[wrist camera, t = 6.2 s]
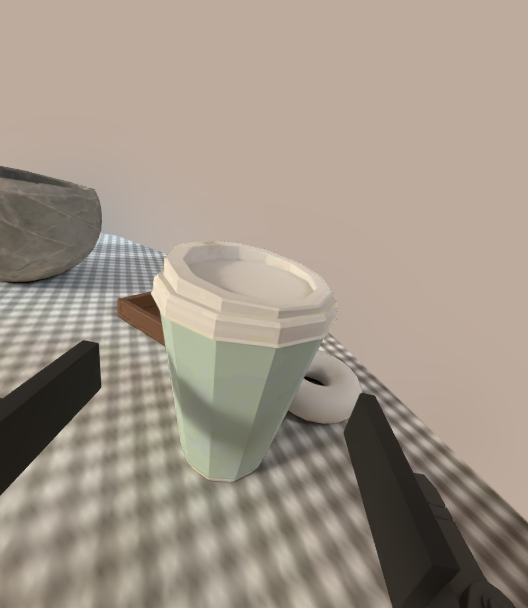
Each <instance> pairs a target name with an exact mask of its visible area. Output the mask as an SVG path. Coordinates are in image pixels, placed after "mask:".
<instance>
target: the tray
mask: <svg viewBox="0 0 528 608" xmlns="http://www.w3.org/2000/svg"><path fill="white" fill-rule="evenodd" d="M151 292H152V291H151ZM151 292H147V293H142V294H138V295H133V296H129V297H124V298H119V299H117V300H118V317H120V318H121V319H123V320H125V321H126V322H128V323H129V324H131V325H133V326H134V327H136V328H137V329H139V330H141V331H142V332H144V333H145V334H147V335H149V336H150V337H152V338H153V339H155V340H157V341H158V342H160V343H161V344H163V345H165V339H164V333H163V327H162V320H161V314H160V310H159V308H158V306H157V304H156V302H155V300H154V298H153V296H152V295H151Z"/></svg>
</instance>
